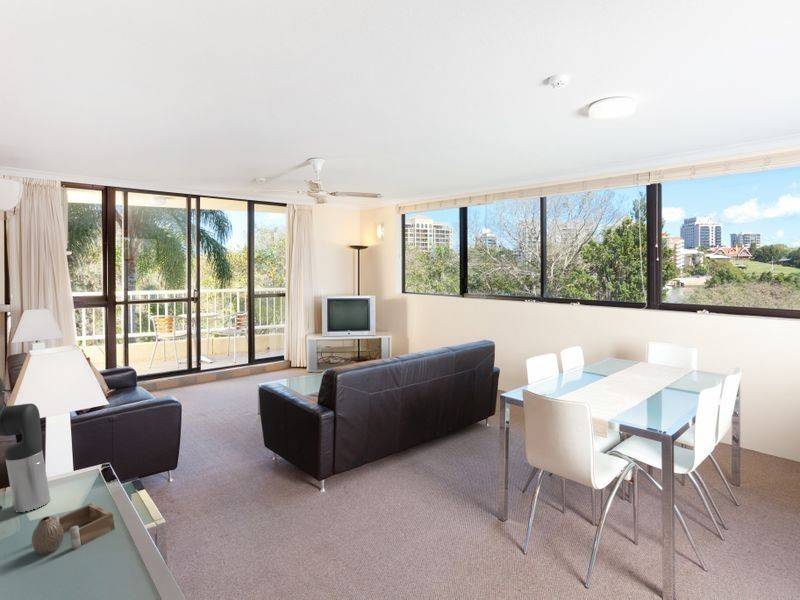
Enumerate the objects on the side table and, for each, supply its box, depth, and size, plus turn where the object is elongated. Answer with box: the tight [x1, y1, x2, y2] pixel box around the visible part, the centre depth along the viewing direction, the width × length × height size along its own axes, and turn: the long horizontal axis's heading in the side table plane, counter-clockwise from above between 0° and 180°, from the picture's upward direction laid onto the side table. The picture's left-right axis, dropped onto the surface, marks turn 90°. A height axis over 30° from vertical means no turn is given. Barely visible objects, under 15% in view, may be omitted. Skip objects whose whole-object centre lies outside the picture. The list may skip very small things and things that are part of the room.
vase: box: [31, 516, 65, 555], centre depth 125 cm, size 7×7×9 cm
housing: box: [50, 503, 116, 550], centre depth 132 cm, size 14×10×6 cm
